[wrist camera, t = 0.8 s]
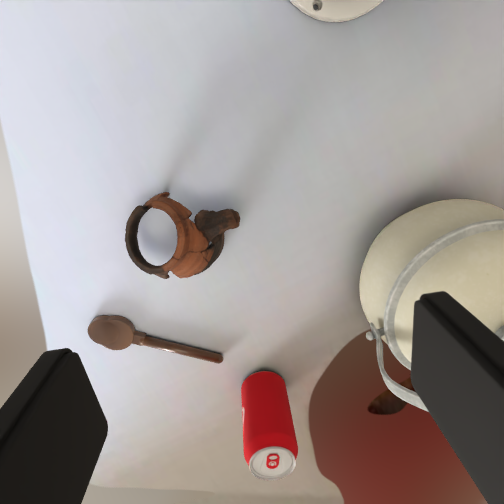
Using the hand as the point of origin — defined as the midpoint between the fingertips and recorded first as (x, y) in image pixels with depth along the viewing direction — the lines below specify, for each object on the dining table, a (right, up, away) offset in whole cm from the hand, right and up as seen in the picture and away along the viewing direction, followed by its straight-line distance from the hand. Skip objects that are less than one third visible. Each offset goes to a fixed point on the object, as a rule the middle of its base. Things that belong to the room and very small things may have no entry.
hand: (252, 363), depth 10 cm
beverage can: (+2, -16, +40) cm, 43 cm away
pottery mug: (-7, +6, +30) cm, 31 cm away
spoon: (-12, -9, +36) cm, 39 cm away
